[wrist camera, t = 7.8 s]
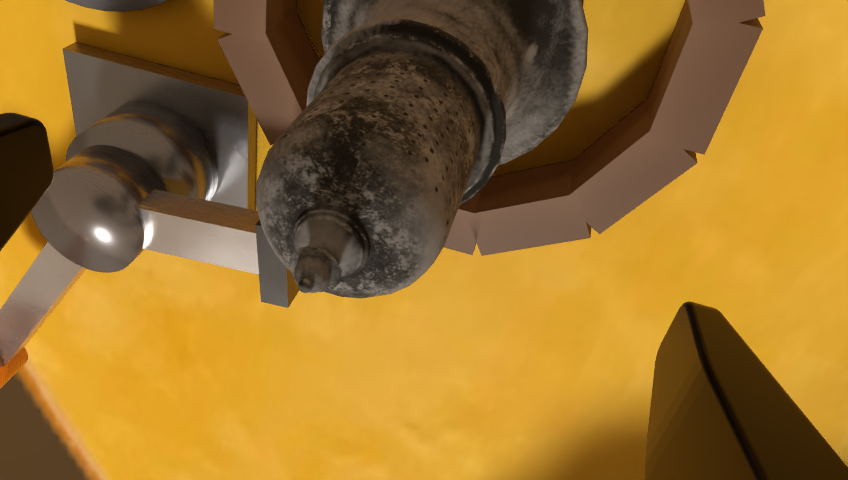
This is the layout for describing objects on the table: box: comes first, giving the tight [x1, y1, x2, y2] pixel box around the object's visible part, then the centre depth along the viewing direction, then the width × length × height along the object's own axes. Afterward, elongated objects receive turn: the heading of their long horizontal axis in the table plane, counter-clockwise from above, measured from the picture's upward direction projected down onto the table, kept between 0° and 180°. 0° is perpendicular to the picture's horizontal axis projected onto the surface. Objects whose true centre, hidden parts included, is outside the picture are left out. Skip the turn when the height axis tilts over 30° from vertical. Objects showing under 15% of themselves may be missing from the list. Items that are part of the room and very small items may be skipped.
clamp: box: [0, 145, 299, 388], centre depth 21 cm, size 7×16×4 cm, turn 137°
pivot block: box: [63, 42, 257, 210], centre depth 22 cm, size 6×6×2 cm
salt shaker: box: [256, 0, 588, 298], centre depth 13 cm, size 6×6×12 cm
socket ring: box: [214, 0, 765, 256], centre depth 17 cm, size 13×13×2 cm
